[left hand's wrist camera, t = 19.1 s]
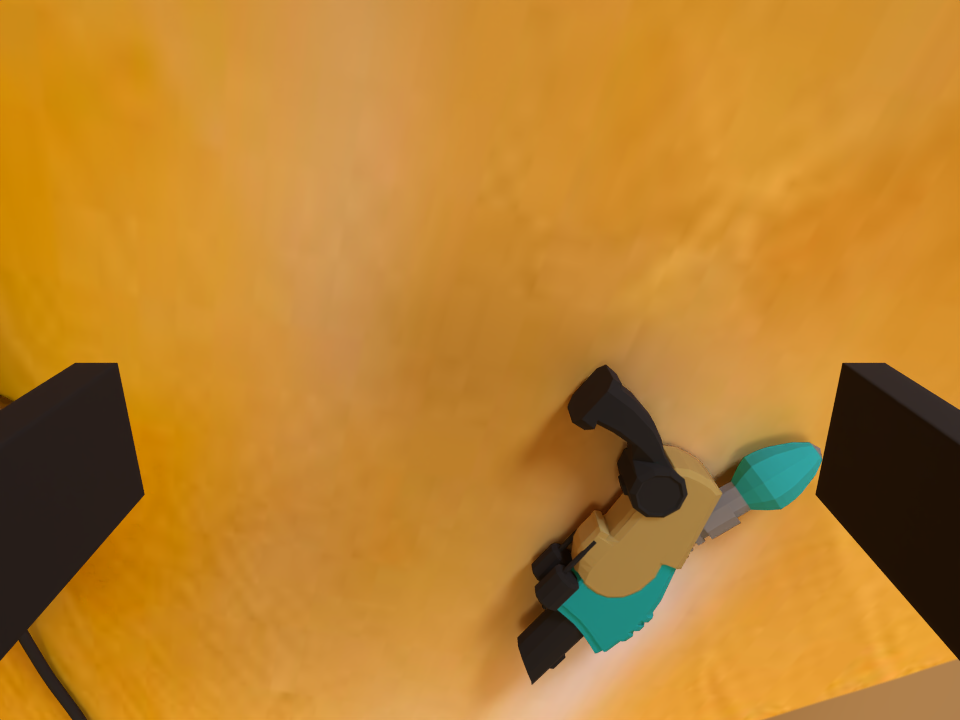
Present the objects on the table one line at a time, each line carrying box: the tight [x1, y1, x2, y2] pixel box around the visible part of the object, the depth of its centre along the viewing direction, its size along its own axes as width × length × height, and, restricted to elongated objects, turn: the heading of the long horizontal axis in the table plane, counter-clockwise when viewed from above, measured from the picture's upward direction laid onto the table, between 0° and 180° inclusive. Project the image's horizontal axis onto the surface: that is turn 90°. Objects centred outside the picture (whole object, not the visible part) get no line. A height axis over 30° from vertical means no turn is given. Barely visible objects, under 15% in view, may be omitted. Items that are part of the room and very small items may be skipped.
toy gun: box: [518, 365, 822, 684], centre depth 44 cm, size 4×26×15 cm
